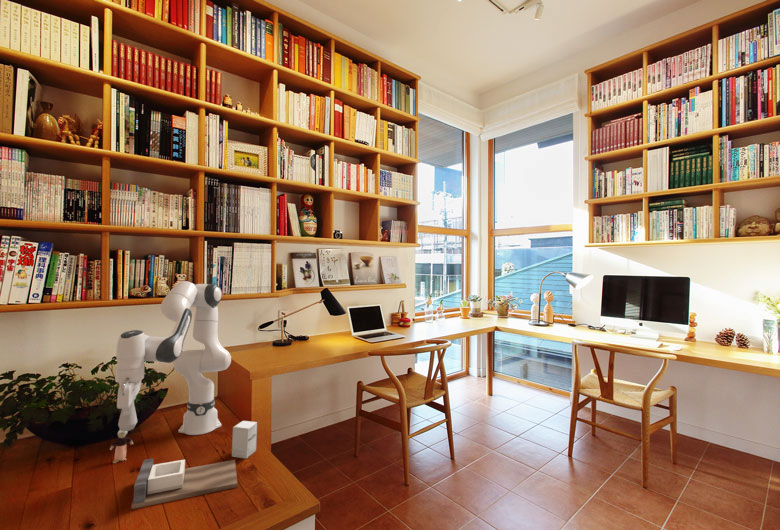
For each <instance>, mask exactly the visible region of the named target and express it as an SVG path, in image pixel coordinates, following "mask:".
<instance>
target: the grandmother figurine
mask: <svg viewBox="0 0 780 530" xmlns="http://www.w3.org/2000/svg"><path fill="white" fill-rule="evenodd" d="M126 435H128V431H121V430H120V429H119V430H118V432H117V437H118V438H117V439H115V440H114V441H113V442H112V444H111V446H110V447H109V451H113V449H114V447H115V450H114V451H115V452H114V458H113V461H112V464H117V462H118V463H120V462H125V461H127V458H126V457H127V452H128V451H127V448H128V445H127V443H129V444H130V446H131V445H134V442H133V439H132V438H130V437H127V436H126ZM124 460H125V461H124Z"/></svg>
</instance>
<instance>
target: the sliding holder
mask: <svg viewBox="0 0 780 530" xmlns="http://www.w3.org/2000/svg"><path fill="white" fill-rule="evenodd" d="M185 469H186V459H181V460H179V459H178V460H173V461H169V462H162V463H157V464H156V463H155V464H153V466H152V469H151V472H150V475H149V478H148V491H147V495H148V494H153V493H158V492H163V491H168V490H173V489H178V488H182V486H183V480H184V473H185Z"/></svg>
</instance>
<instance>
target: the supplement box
mask: <svg viewBox="0 0 780 530" xmlns="http://www.w3.org/2000/svg"><path fill="white" fill-rule="evenodd" d="M257 431H258V422H257V421H249V420H242V421H240V422H238V423H237V424H236V425H234V426H232V444H231V457H234V458H238V459H239V458H240V459H248V458H249V457H250V456H252V455H253V454H254V453H255V452H256V451H257V437H258V436H257V435H258V434H257V433H258V432H257Z"/></svg>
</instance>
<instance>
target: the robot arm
mask: <svg viewBox="0 0 780 530" xmlns="http://www.w3.org/2000/svg"><path fill="white" fill-rule="evenodd" d="M222 298H223V291H222V289H221V287H220V286H219V284H215V283H208V284H207V283H196V284H195V283H193V282H190V281H187V280H183V281H179V282H178V283H177V284H175V286H173V287H172V289H170V291H169V292H168V293H167V294H166V295H165V297H164V298H163V300H162V302H161V304H160V310H161V312H162V314H163V316H165V318H166V319H168V320H170V321H172V322H175V325H174V327H173V329H172V331H171V334H169V335H167V336H155V335H154V336H151V335H147V334H145V333H144V331H143V330H138V329H135V330H128V331H124V332H123V333H121V334H120V335H119V337H118V341H117V344H116V353H115V354H116V356H115V358H116V366H115V376H114V382H116V383H118V384H119V385H118V386H119V387H118V391H117V400H116V408H117V409H119V410H122V408H123V411H124V416H126V415H129V414H130V405H131V403H132V402H133V401H134V402H135V400H134V396H135V394H136V396H137V395H138V394H139V392H140V389H141V387H142V380H143V379H144V378H145V362H159V363H167V364H171V363H172V366H173V368H174V370H175V371H176V372H178V373H179V374H181V376H182V377H183V378H184V379H185V380H186V382H187V387H188V402H187V405H186V407H187V408H186V409H187V411H186V412H185V413H184V414H183V421H182V425H180V427H179V429H177V431H178V434H179V433H181V434H186V435H189V436H198V435H204V434H208V433H211V432H212V431H214V430H216V429H218V428H221V427H222V423H221V422H220V419H219V416H218V410H217V408H215V406H216V405H215V404H216V401H215V400H216V399H215V383H214V382H213V380H211V379H210V378H207V377H205V376H204V375H203V373H210V372H211V373H214V372H216V373H217V372H222V371H224V370H227V369H228V368H229V367H230V365H231V363H232V355H231V354H230V352H229V351H228V350H227V349H226V348H225V347H223V346H222V344H221V343H220V340H219V334H218V333H219V332H218V331H219V330H218V329H219V328H218V326H219V308H218V307H219V306H218V304H219V303H220V302H221V300H222ZM192 307H193V308H195V311H194V312H195V314H194V316H193V315H192V311H191V308H192ZM193 317H194V318H193ZM192 318H193V328H192V337H193V339H194V340H195V341H196V342H199V343H200V344H203V345H204V349H188V350H187V349H186V350H183V346H184V341H185V339H186V336H187V333H188V331H189V328H190V324H191V322H192Z"/></svg>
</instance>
